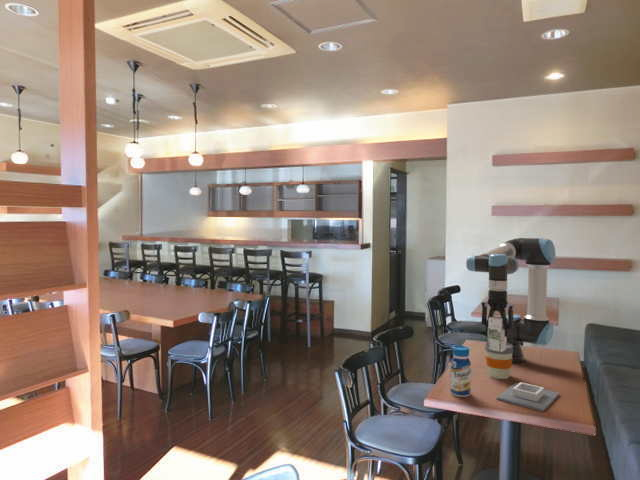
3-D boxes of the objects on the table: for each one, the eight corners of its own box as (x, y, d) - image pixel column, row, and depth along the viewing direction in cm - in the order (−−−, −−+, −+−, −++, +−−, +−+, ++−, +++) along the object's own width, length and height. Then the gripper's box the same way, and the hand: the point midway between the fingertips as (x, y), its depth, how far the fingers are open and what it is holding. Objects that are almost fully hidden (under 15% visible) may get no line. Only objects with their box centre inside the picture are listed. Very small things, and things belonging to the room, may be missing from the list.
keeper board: (515, 384, 202) (515, 376, 202) (559, 395, 190) (559, 385, 190) (496, 399, 186) (496, 390, 185) (543, 411, 174) (543, 401, 173)
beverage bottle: (466, 389, 196) (467, 344, 195) (473, 397, 188) (474, 350, 187) (447, 389, 196) (448, 344, 195) (453, 397, 188) (453, 350, 187)
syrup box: (506, 349, 196) (506, 317, 195) (500, 352, 192) (501, 319, 191) (493, 347, 200) (493, 315, 199) (487, 350, 196) (488, 317, 195)
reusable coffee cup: (479, 375, 215) (479, 344, 214) (493, 369, 223) (493, 339, 222) (504, 382, 205) (505, 350, 204) (517, 376, 213) (518, 345, 212)
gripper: (473, 288, 198) (472, 340, 199) (516, 293, 185) (515, 348, 186) (480, 286, 204) (479, 337, 205) (523, 291, 191) (522, 344, 192)
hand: (497, 342), depth 196 cm, fingers closed on syrup box, 6 cm apart
